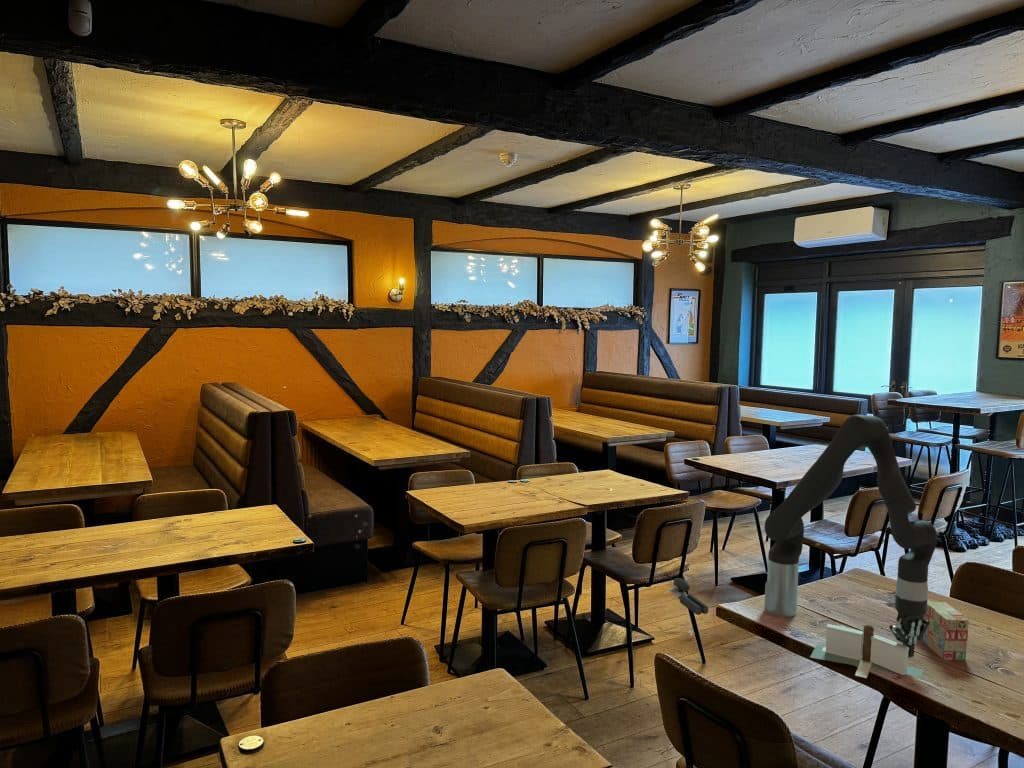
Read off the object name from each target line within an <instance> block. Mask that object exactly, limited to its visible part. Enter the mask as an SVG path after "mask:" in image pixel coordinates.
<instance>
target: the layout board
mask: <svg viewBox="0 0 1024 768" xmlns="http://www.w3.org/2000/svg"><path fill="white" fill-rule="evenodd" d="M809 658H811V659H817V660H823V661H829V662H834V663H838V664H846V665H852V666H856V667H857V669H856V671H855V674H854V676H856V677H860V678H864V679H867V677H868V676H869V673H870V669H874V670H878V671H879V670H880V671H886V672H891V673H895V672H894V671H891V670H889V669H887V668H884V667H882V666H879V665H877V664H874V663H872V662H867V661H864V660H862V657H861V660H860V659H856V658H852V657H848V656H843V655H839V654H835V653H831V652H827V651H826V645H822V644H816V645H815V647H814V649H813V651H812V653H811V655H810V657H809ZM923 674H924V669H920V668H917V667H913V666H909V665H908V667H907V674H906V675H908V676H913V677H919V678H922V677H923Z"/></svg>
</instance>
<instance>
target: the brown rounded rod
mask: <svg viewBox="0 0 1024 768" xmlns="http://www.w3.org/2000/svg"><path fill="white" fill-rule="evenodd" d="M862 631H863V639H862V660H864V661H867V662H870V657H871V640H872V639H871V636H873V635H874V631H875V629H874V627H873V626H872V625H871V624H865V625H864V626H863V630H862Z"/></svg>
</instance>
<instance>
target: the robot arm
mask: <svg viewBox="0 0 1024 768" xmlns="http://www.w3.org/2000/svg"><path fill="white" fill-rule="evenodd" d="M859 448H868V449H869V451H870V453H871V455H872V456H873V459H874V461H875V463H876V470H877V471H876V472H877V475H876V477H877V479H876V481H877V488H878V491H879V494H880V496H881V499H882V501H883V503H884V506H885V507H886V509H887V511H888V518H889V524H890V531H891V535H892V538H893V540H894V542H895V544H897V545H898V546H899V547H900V548H902V549H904V550H909V551H908V552H907V553H904V554H902V555H901V556H899V558H898V561H897V563H898V564H897V579H896V583H895V597H894V599H895V600H894V608H895V610H896V611H897V616H896V618H895V619H896V623H895V624H894V625H893V624H890V625H889V630H890V631H891V633H892V635H893V636H894V637H895V638H894V639H896V641H898V642H899V643H901V644H902V645H904V646H907V647H909V651H908V659H910V658H913V657H915V645H916V644H917V642H918V641H919V642H920V641H922V640H921V638H922V637H923V635H924V633H925V631H926V629H927V627H928V626H929V624H930V622H929V621H928V620H925V619H924V615H926V613H927V600H929V599H928V597H929V585H928V580H929V579H928V576H929V565H930V563H931V560H932V558H933V555H934V552H935V549H936V547H937V542H938V533H937V530H936V528H935V526H934V524H932V523H931V522H930V521H928V520H923V519H922V520H921V519H920V520H914V521H913V520H911V521H910V519H909V515H910V514H912V513H913V512H914V511H916V509H917V504H916V501H915V499H914V498H913V495H912V493H911V491H910V490H909V487H908V485H907V483H906V480H905V478H904V477H903V474H902V471H901V469H900V466H899V465H900V464H899V463H898V458H897V456H896V453H895V450H894V447H893V443H892V440H891V436H890V433H889V429H888V427H887V425H886V423H885V422H884V420H883V419H882V418H880V417H878V416H874V415H867V414H866V415H865V414H852V415H850V416H849V417H847V418H846V419H845V420H844V422H842V424H841V425H840V427H838V430H837V431H836V433H835V435H834V437H833V438H832V440H830V443H829V444H828V445H827V447H826V448H825V449H824V451H822V453H821V454H820V456H819V457H817V460H815V462H814V463H813V464H812V465H811V466H810V467H809V469H808V470H807V471H806V472H805V474H804V475H802V477H801V478H800V480H799V481H798V482H797V484H796V485H795V487H794V488H793V489H792V490H791V491H790V493H789V494H788V495H787V496H786V498H785V499H784V500H783V502H781V503H780V504H779V505H778V506H777V507H776V508H775V509H774V510H773V511H771V513H770V514H769V515H768V516H767V517H766V518H765V521H764V525H763V526H764V532H765V534H766V535H765V536H767V538H768V539H770V540H772V541H774V542H775V543H774V544H773V545H772V546H771V548H769V550H768V555H767V556H768V558H767V559H768V560H767V578H766V579H767V581H766V582H765V584H764V585H765V587H764V607H763V609H764V612H767V613H768V614H770V615H774V616H776V617H780V618H781V617H782V618H791V617H795V616H796V615H797V608H798V605H797V604H798V588H799V587H798V586H799V585H798V584H799V563H800V556H801V554H802V551H803V544H804V534H805V526H804V525H805V524H804V519H803V517H804V516H805V515H806V514H808V513H809V512H811V511H812V510H813V509H815V508H816V507H818V506H819V505H820V504H822V503H823V502H824V501H825V500H827V499H828V498H829V497H830V495H832V494H833V493H834V492H835V490H836V489H837V488H838V486H839V485H840V484H841V482H842V480H843V476H844V470H845V465H846V462H848V459H849V458H851V456H852V455H853V454H854V453H855V452H856V451H857V450H858V449H859Z"/></svg>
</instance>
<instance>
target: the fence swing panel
mask: <svg viewBox="0 0 1024 768" xmlns="http://www.w3.org/2000/svg"><path fill="white" fill-rule="evenodd" d="M871 639H872V640H871V657H870V662H872V663H874V664H877V665H879V666H882V667H884V668H887V669H889V670H891V671H894V672H893V673H897V674H898V675H902V676H905V675H907V667H908V666H909V663H908V662H909V658H908V651H909V647H907V646H904V645H903V643H900V642H896V641H894V640H891V639H888V638H886V637H883V636H881V635H878V634H873V636H871Z"/></svg>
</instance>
